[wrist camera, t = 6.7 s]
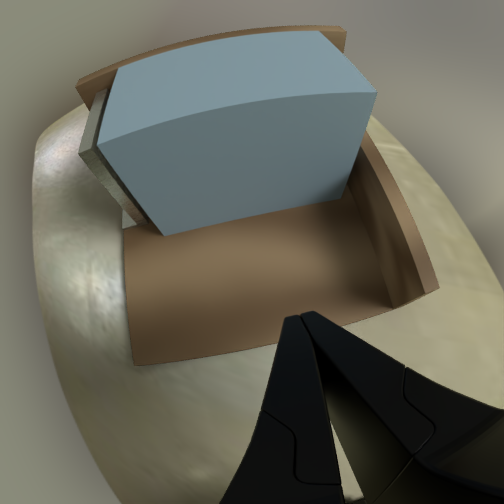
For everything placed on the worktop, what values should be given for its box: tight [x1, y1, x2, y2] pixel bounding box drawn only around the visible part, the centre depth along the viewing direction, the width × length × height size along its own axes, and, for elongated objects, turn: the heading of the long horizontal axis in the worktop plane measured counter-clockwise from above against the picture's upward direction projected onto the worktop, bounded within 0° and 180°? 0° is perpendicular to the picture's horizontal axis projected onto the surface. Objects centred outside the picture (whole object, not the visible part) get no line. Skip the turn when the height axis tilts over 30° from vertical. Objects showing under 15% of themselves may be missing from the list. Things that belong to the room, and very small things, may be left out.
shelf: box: [75, 25, 440, 366], centre depth 14 cm, size 16×17×10 cm
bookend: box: [78, 88, 149, 230], centre depth 15 cm, size 6×2×8 cm, turn 12°
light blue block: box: [97, 31, 377, 236], centre depth 15 cm, size 7×12×9 cm, turn 102°
